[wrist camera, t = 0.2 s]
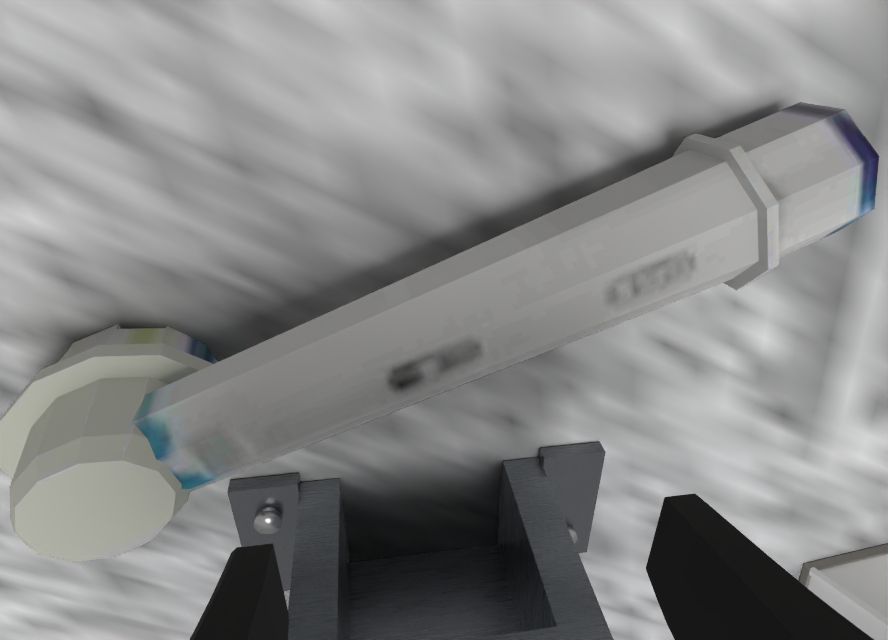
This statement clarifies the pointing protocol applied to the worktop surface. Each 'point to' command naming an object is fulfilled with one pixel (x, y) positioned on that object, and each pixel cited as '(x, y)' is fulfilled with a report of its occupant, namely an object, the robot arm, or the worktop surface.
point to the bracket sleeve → (438, 560)
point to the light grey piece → (414, 331)
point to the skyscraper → (854, 587)
